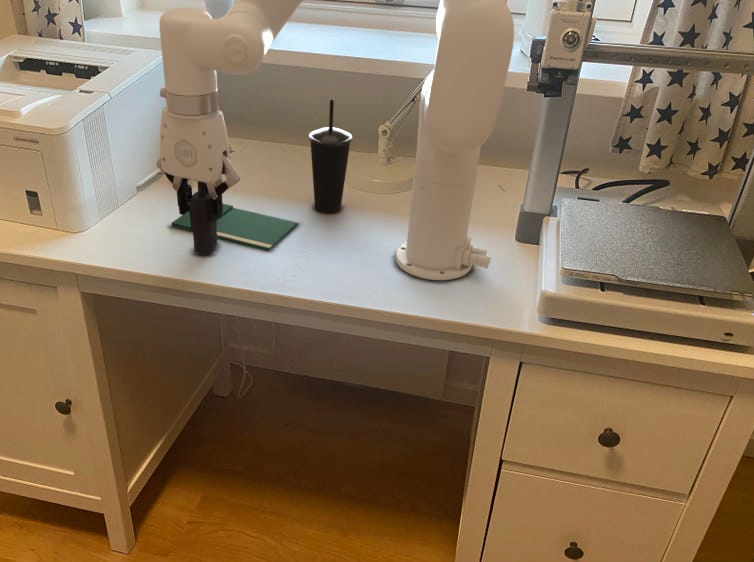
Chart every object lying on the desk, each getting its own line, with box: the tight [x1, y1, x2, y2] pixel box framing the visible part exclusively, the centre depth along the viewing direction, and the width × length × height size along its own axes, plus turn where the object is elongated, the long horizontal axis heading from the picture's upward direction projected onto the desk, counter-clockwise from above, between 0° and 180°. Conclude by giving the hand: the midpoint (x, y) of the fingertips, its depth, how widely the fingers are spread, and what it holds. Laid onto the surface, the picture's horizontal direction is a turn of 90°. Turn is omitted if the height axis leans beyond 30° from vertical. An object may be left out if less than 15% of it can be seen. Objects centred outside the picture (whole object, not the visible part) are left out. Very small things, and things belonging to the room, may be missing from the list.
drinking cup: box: [308, 98, 353, 214], centre depth 135 cm, size 8×8×20 cm
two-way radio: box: [185, 181, 218, 256], centre depth 121 cm, size 6×4×15 cm
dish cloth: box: [171, 203, 298, 251], centre depth 133 cm, size 19×11×1 cm, turn 67°
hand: (200, 213), depth 122 cm, fingers closed on two-way radio, 4 cm apart
